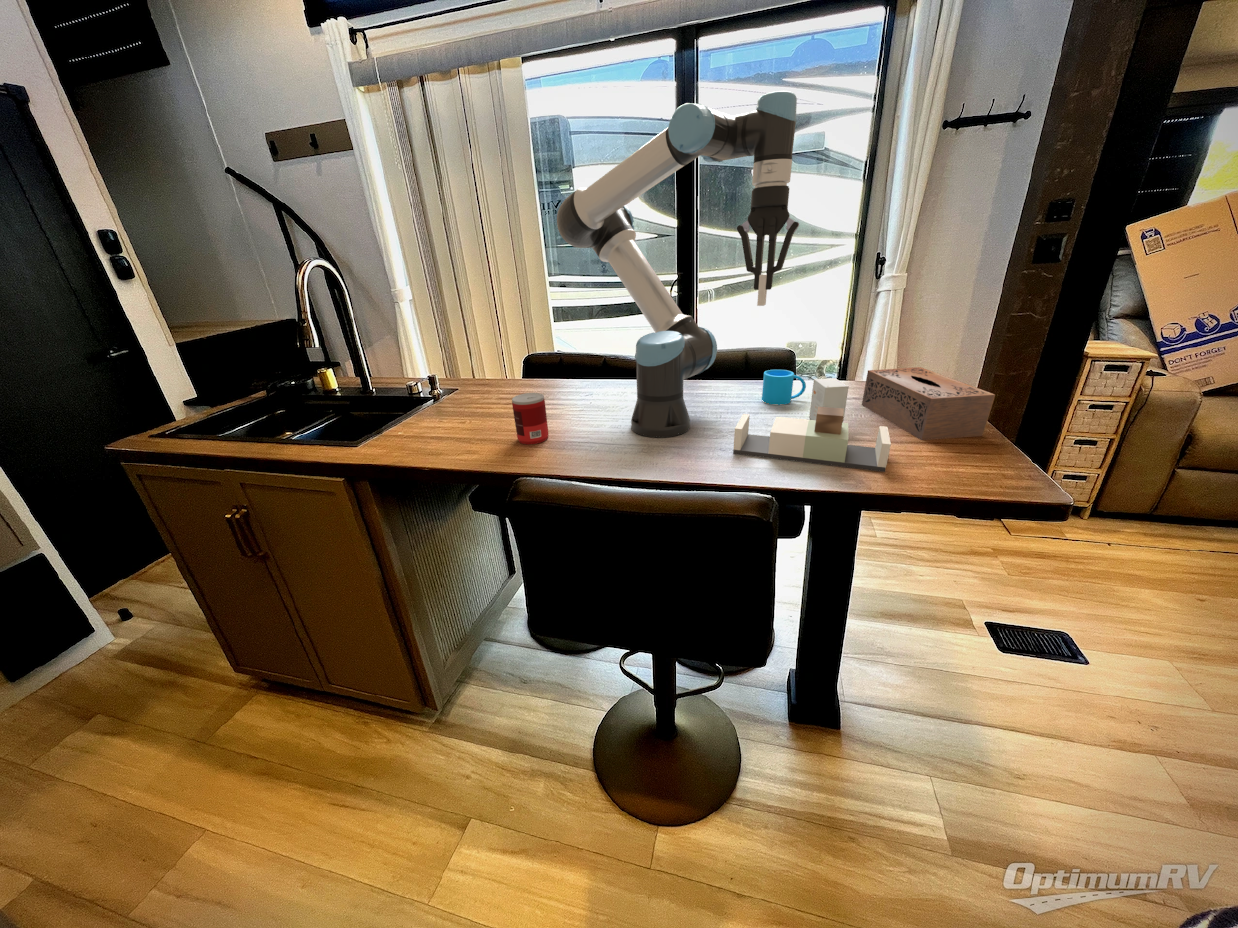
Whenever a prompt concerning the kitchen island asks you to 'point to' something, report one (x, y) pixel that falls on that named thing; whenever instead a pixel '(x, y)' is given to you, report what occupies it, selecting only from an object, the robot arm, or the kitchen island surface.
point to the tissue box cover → (927, 403)
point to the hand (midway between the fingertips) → (761, 305)
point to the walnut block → (829, 420)
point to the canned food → (530, 418)
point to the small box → (828, 395)
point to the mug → (779, 386)
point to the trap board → (850, 459)
